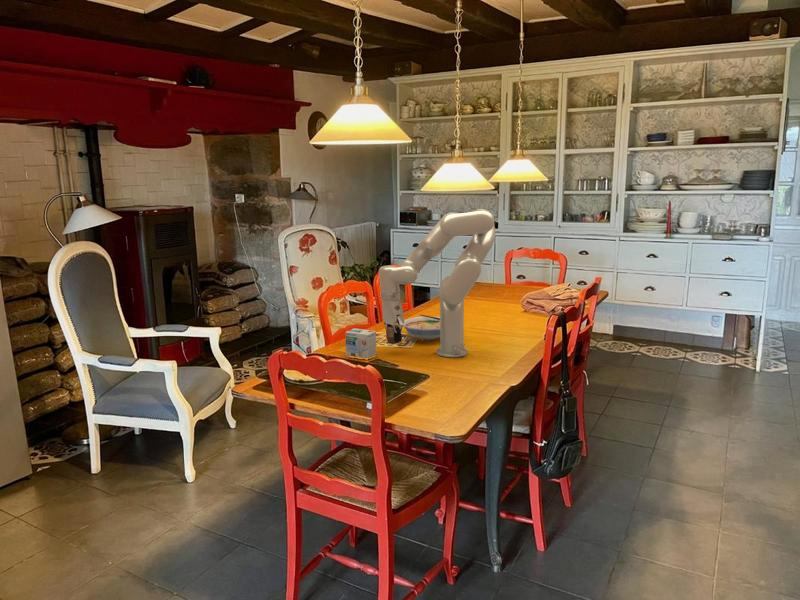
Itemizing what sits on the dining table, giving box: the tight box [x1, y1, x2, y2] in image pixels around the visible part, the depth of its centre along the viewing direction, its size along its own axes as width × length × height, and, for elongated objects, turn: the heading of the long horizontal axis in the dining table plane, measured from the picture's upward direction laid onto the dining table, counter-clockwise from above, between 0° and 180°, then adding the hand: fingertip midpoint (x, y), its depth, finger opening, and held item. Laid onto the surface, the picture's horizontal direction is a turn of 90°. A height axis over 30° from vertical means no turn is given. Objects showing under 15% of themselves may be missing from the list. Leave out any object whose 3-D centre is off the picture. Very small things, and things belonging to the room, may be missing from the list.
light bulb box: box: [344, 327, 377, 358], centre depth 236 cm, size 11×7×11 cm, turn 62°
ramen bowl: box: [403, 314, 440, 341], centre depth 261 cm, size 25×23×8 cm
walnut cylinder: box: [385, 326, 402, 345], centre depth 239 cm, size 6×6×6 cm
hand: (394, 339), depth 239 cm, fingers closed on walnut cylinder, 5 cm apart
